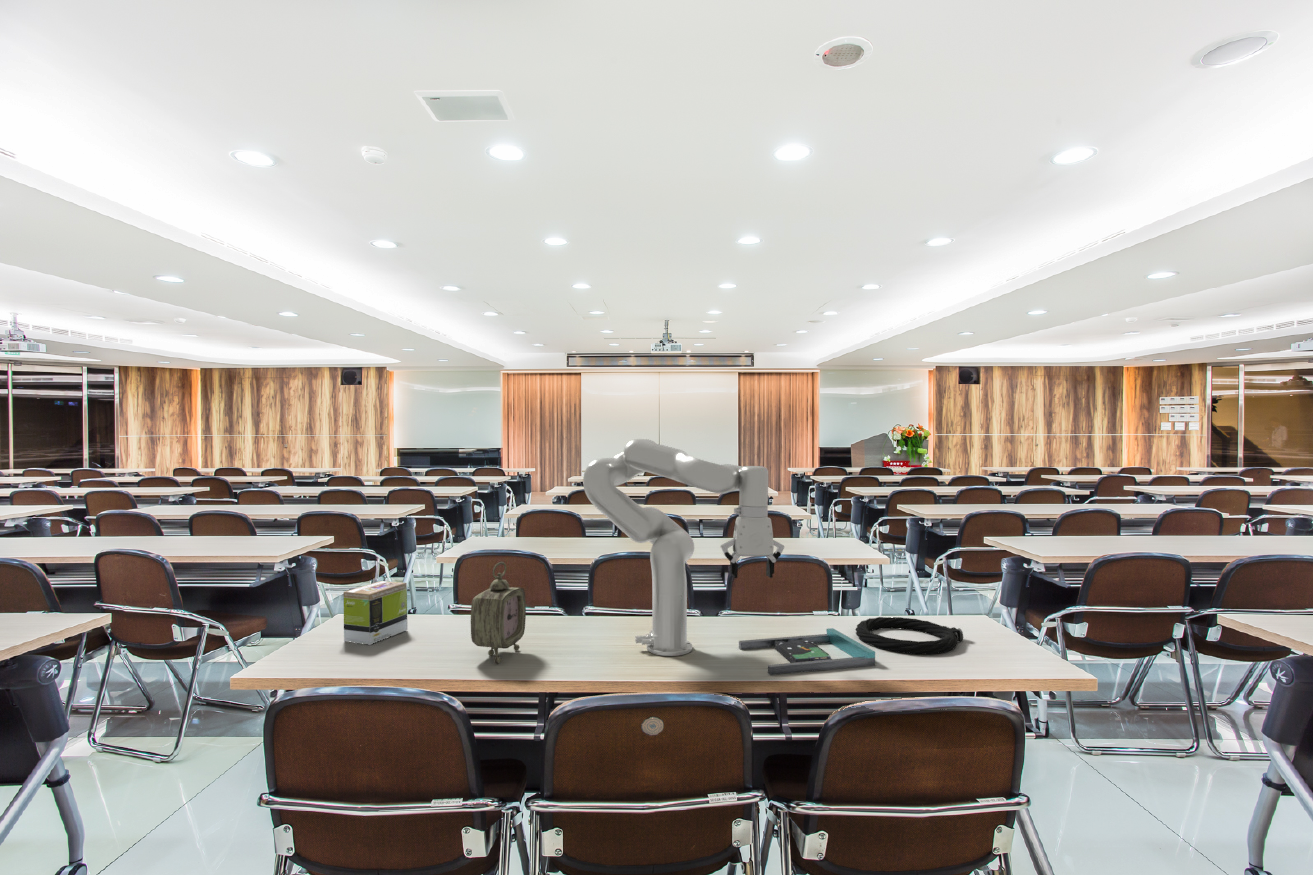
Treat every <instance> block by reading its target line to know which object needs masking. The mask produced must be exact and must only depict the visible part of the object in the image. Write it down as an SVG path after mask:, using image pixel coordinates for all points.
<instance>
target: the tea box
mask: <svg viewBox="0 0 1313 875" xmlns="http://www.w3.org/2000/svg"><path fill="white" fill-rule="evenodd" d="M407 584H408V583H407V582H401V581H400V582H398V581H386V580H379V581H377V582H376V581H375V582H372V583H369V584H366V585H363V586H359V587H356V588H352V589H349V590H345V591H343V641H344V642H345V641H351V642H355V643H354V644H357V643H361V644H360V645H364V644H368V646H371V645H373V643H374V644H375V642H376V643H378V642H377V641H379V642H381V641H384V640H386V639H388V638H390V637H389V636H391V637H394V636H396V635H399V634H400V633H403V632H405V631H408V590H407V589H408V588H407V587H408V585H407ZM387 637H388V638H387ZM385 638H386V639H385ZM383 639H384V640H383ZM380 640H381V641H380ZM362 643H363V644H362Z"/></svg>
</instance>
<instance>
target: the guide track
mask: <svg viewBox="0 0 1313 875" xmlns="http://www.w3.org/2000/svg"><path fill="white" fill-rule="evenodd" d="M790 640H810V641H812V642H813V643H814V644H816V645H817V644H826V643H829V644H831V645H833V646H835V647H836V648H838V649H839V650H841V651H843V652H844V653H846V654H848V655H849V656H851V657H845V658H844V657H843V658H831V659H829V660H818V661H807V662H796V663H790V662H787V663H777V664H776V663H775V664H774V663H773V664H767V674H768V675H769V676H777V675H788V674H798V673H808V672H809V673H810V672H820V671H829V670H840V669H841V670H842V669H852V668H863V667H864V668H865V667H873V666H874V667H875V666H876V651H874V650H873V649H871V648H869V647H867V646H866V645H864V644H862V643H860V642H858V641H856V640H855V639H853V638H851V637H850V636H847V635H846V634H844V633H842V632H840V631H839V630H837V629H835V628H833V627H832V628H829V627H828V628H826V633H823V634H809V635H807V634H806V635H796V636H795V635H794V636H783V637H782V636H781V637H771V638H758V639H757V638H756V639H745V640H738V649H739V650H742V651H743V650H751V649H752V650H753V649H754V650H755V649H767V648H775V641H784V642H788V641H790Z"/></svg>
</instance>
